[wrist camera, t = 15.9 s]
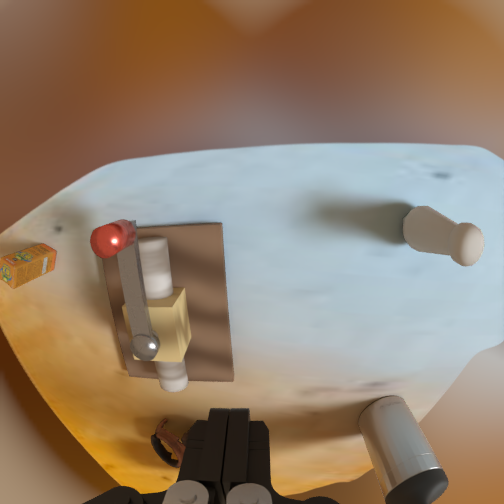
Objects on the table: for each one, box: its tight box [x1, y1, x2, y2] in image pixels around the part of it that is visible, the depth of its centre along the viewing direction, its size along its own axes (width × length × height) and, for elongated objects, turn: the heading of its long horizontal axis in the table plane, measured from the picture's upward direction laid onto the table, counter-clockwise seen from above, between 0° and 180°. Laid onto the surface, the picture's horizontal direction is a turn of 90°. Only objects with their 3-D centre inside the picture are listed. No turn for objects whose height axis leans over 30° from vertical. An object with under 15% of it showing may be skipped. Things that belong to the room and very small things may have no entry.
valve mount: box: [102, 223, 234, 392], centre depth 34 cm, size 22×16×9 cm
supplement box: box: [0, 244, 57, 289], centre depth 32 cm, size 3×4×10 cm
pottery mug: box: [151, 419, 189, 468], centre depth 42 cm, size 12×10×8 cm
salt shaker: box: [403, 206, 484, 266], centre depth 29 cm, size 6×6×13 cm
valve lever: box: [90, 219, 160, 361], centre depth 26 cm, size 15×3×5 cm, turn 3°
